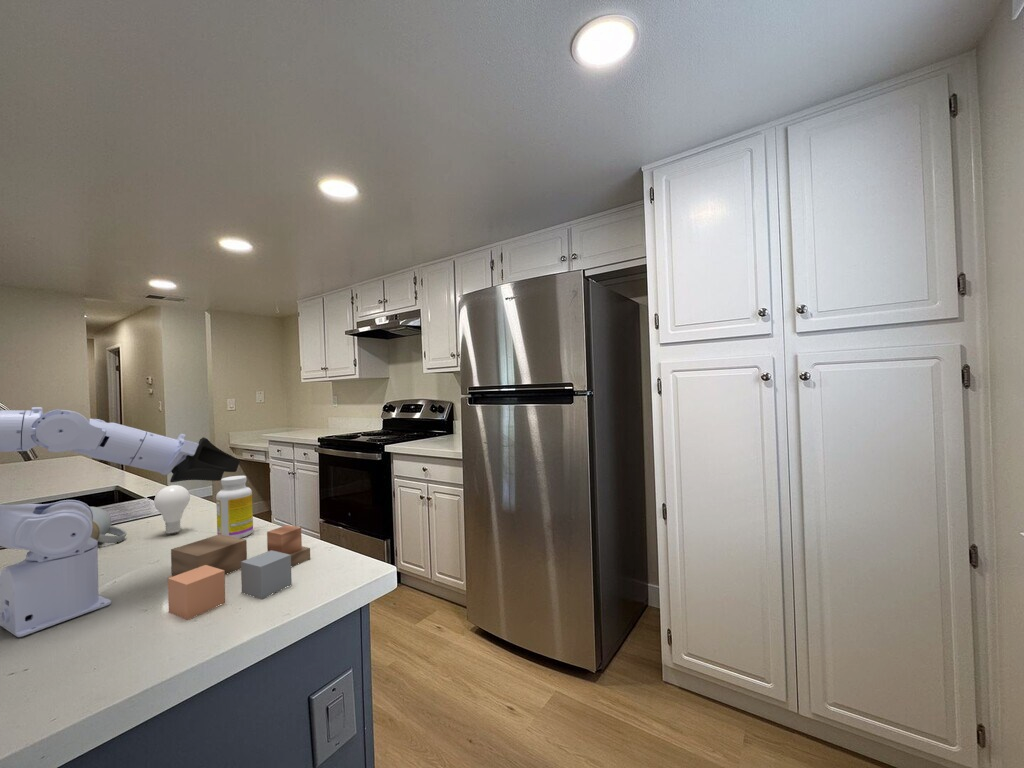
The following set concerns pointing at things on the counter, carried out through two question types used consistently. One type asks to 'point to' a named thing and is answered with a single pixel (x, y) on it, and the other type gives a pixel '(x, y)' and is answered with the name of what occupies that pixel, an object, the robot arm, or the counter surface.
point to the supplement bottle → (234, 508)
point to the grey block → (266, 574)
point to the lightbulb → (172, 506)
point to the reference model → (288, 543)
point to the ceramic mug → (105, 527)
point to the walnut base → (209, 554)
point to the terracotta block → (196, 591)
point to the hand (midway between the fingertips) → (229, 470)
